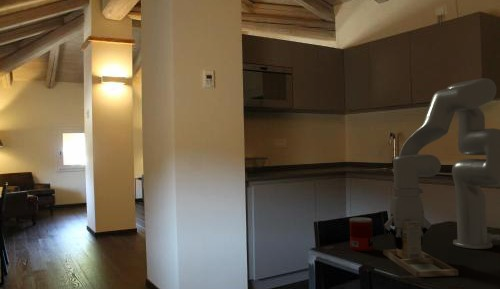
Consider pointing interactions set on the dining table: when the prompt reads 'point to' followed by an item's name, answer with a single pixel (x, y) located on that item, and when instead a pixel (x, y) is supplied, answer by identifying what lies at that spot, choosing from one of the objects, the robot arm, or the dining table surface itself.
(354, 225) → the canned food
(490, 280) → the dining table surface
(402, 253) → the supplement box
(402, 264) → the wooden divided tray
